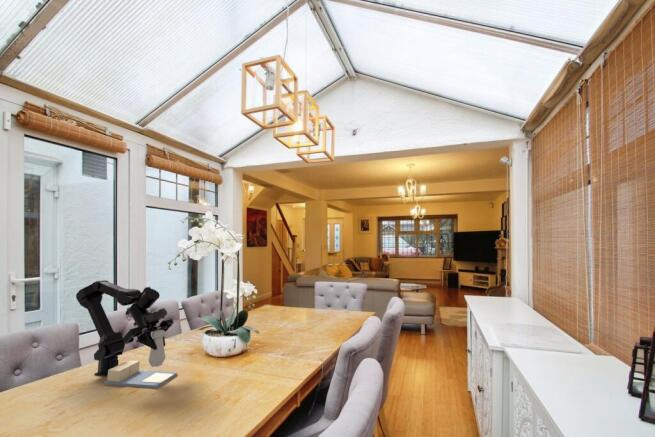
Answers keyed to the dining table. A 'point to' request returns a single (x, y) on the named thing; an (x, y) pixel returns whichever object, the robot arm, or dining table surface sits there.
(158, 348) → the salt shaker
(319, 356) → the dining table surface
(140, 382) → the board
